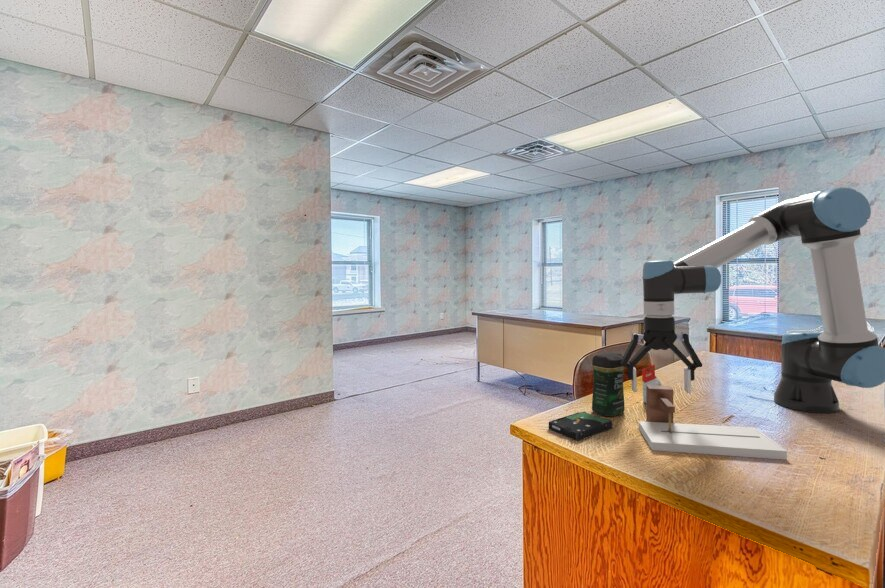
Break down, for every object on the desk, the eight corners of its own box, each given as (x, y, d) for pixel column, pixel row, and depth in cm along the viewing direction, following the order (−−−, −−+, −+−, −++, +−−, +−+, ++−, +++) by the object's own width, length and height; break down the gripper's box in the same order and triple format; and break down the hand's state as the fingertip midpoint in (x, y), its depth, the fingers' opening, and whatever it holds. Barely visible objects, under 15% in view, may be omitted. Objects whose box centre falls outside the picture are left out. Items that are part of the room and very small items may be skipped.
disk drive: (578, 444, 104) (613, 429, 112) (577, 433, 104) (613, 420, 112) (548, 431, 113) (582, 418, 121) (547, 421, 113) (582, 409, 121)
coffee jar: (610, 419, 119) (609, 357, 118) (587, 412, 125) (587, 353, 124) (629, 412, 124) (629, 353, 123) (607, 405, 130) (606, 349, 129)
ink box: (663, 398, 136) (663, 365, 135) (650, 404, 130) (650, 370, 130) (654, 396, 138) (654, 364, 138) (642, 402, 132) (641, 368, 132)
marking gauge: (668, 422, 115) (668, 385, 114) (684, 442, 102) (684, 399, 101) (645, 421, 116) (645, 384, 116) (658, 440, 103) (658, 398, 103)
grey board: (755, 435, 105) (755, 427, 104) (786, 459, 91) (787, 450, 91) (638, 428, 111) (638, 420, 111) (651, 450, 98) (651, 441, 98)
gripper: (613, 318, 111) (615, 394, 112) (715, 316, 104) (716, 396, 106) (608, 315, 118) (610, 386, 119) (704, 313, 112) (705, 388, 113)
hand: (660, 391), depth 112 cm, fingers open, 13 cm apart
